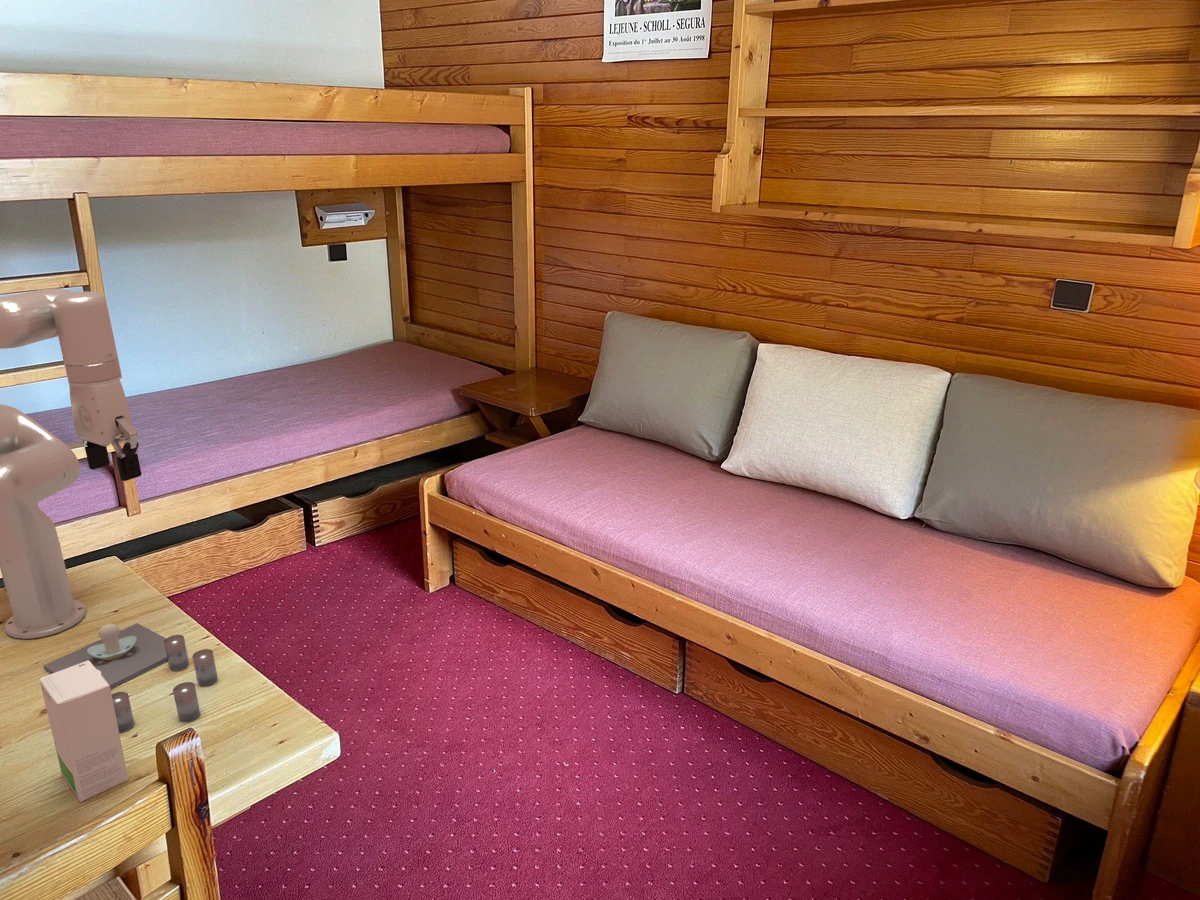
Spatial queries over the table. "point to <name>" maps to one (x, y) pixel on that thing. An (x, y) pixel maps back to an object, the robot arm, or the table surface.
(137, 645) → the mat
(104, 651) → the pacifier
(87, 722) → the skincare box
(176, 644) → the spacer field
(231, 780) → the table surface
